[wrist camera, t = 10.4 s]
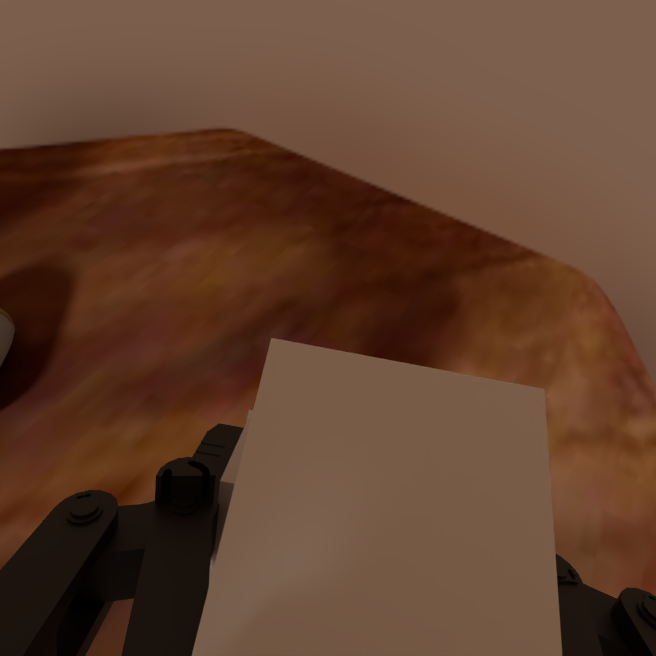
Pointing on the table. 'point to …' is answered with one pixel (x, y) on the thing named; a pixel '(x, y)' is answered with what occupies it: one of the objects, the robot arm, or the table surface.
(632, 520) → the table surface
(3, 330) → the ceramic mug
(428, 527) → the beige square prism
